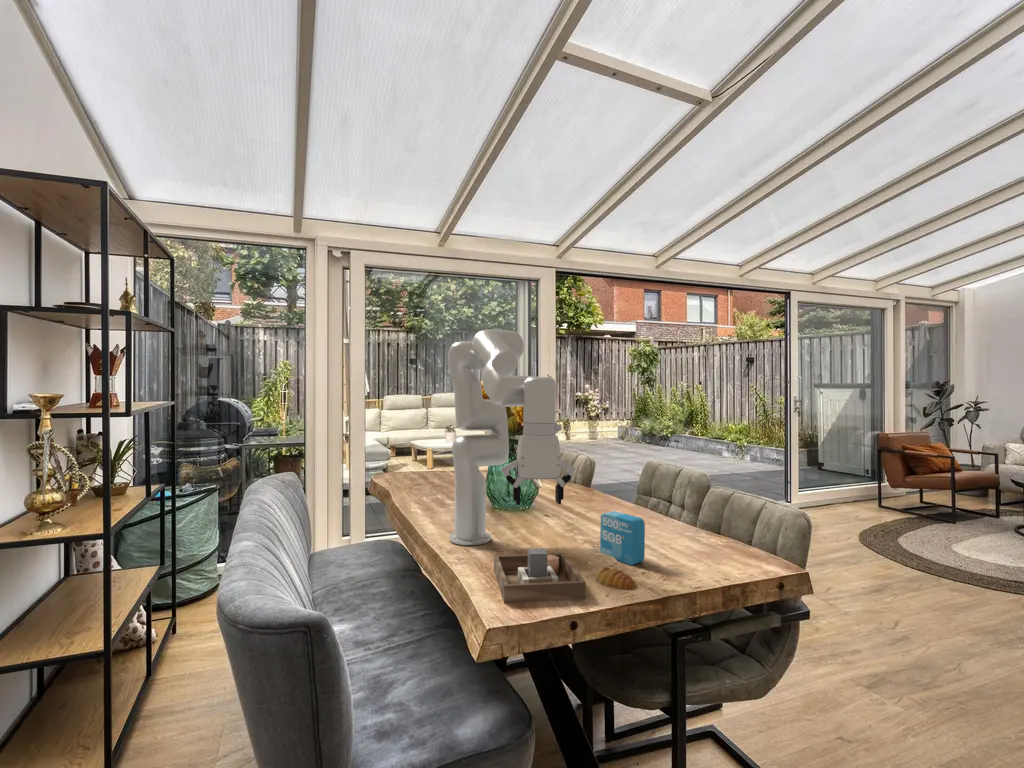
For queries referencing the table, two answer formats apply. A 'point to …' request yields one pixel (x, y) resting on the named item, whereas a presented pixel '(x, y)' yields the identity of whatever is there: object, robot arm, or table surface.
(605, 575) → the pastry
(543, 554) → the gray block
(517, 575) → the crate
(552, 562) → the ball
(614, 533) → the data package
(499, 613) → the table surface
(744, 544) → the table surface
